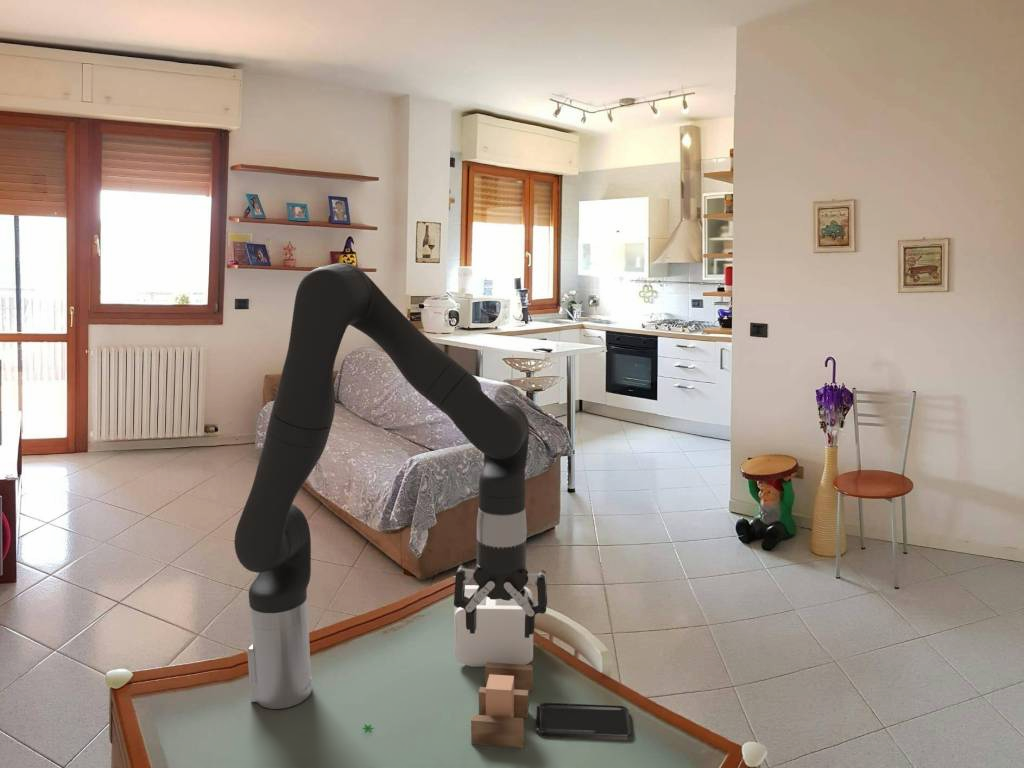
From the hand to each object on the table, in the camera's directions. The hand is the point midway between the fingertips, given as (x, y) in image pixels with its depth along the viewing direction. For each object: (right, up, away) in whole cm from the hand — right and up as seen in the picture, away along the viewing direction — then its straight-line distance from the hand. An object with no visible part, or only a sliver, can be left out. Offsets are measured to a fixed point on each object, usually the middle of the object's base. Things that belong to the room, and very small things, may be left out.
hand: (500, 633), depth 121 cm
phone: (+13, -16, +4) cm, 21 cm away
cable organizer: (-2, -12, +25) cm, 28 cm away
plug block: (0, -16, +3) cm, 16 cm away
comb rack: (0, -15, +7) cm, 17 cm away
